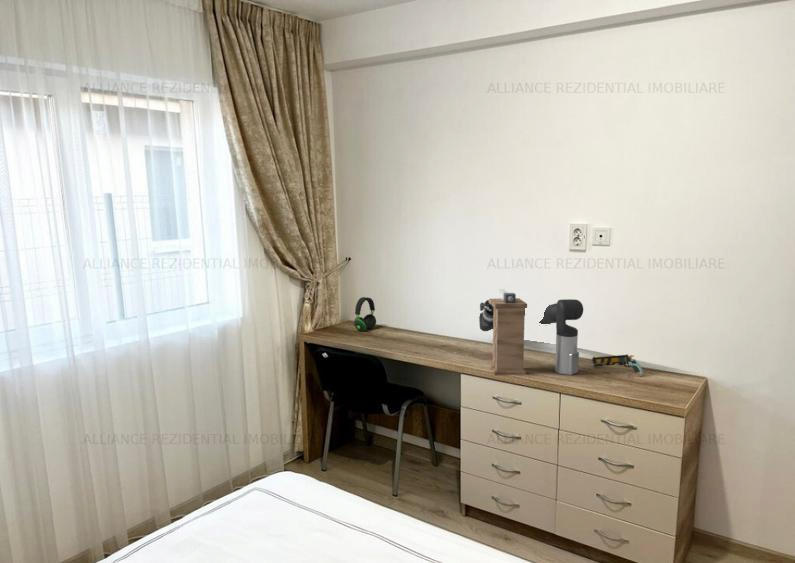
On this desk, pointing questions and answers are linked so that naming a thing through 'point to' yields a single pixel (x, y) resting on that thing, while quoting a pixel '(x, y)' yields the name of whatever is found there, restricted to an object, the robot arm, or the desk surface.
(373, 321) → the headphones
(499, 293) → the action camera
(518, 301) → the pedestal
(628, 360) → the toy gun
